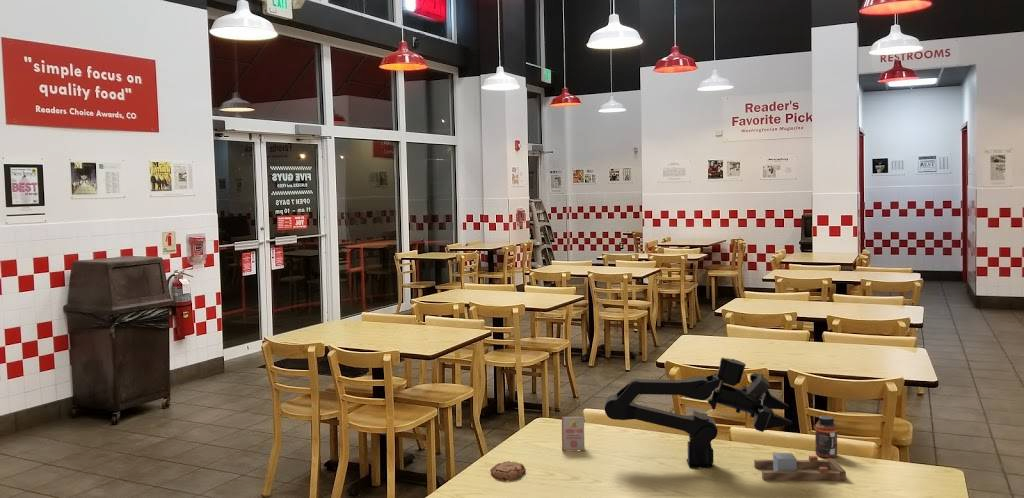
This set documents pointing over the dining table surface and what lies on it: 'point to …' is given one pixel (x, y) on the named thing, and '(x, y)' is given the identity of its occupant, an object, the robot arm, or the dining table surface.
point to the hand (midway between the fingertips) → (790, 415)
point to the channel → (813, 463)
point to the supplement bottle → (826, 437)
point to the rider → (784, 462)
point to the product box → (572, 433)
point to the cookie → (508, 470)
